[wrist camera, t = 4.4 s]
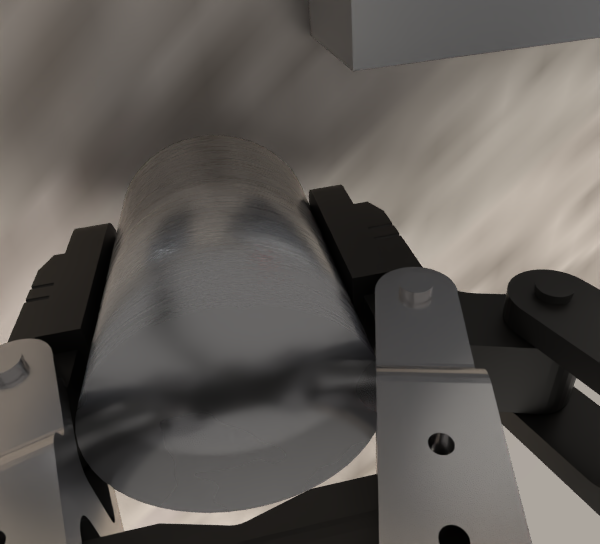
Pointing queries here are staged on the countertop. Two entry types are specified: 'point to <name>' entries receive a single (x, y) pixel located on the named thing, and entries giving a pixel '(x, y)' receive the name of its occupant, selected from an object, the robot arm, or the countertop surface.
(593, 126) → the countertop surface
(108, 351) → the cylinder
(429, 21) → the scale
